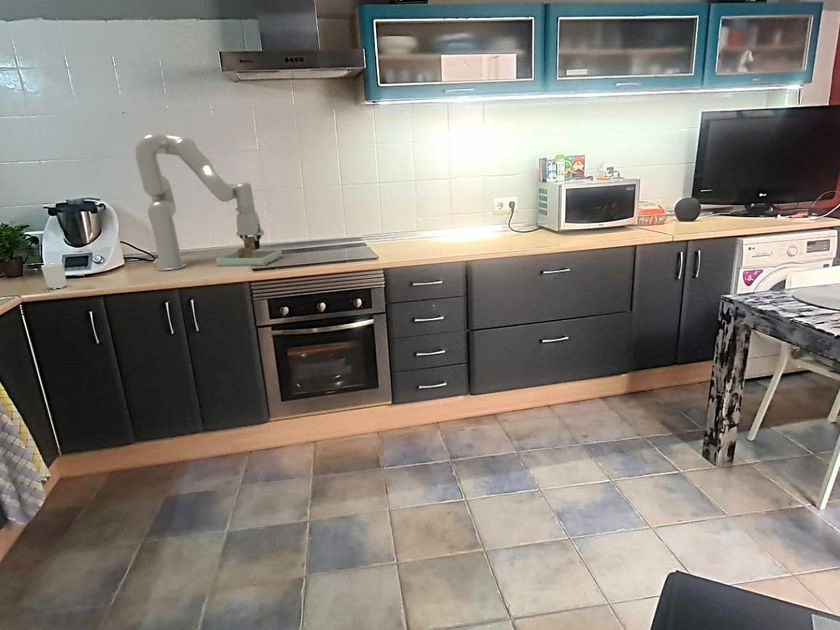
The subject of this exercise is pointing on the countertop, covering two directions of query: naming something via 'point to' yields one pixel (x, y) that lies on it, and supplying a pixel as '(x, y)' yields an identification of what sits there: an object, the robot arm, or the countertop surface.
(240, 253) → the walnut block
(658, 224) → the countertop surface
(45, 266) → the white cup
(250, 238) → the oak block
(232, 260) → the tray
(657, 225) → the countertop surface
